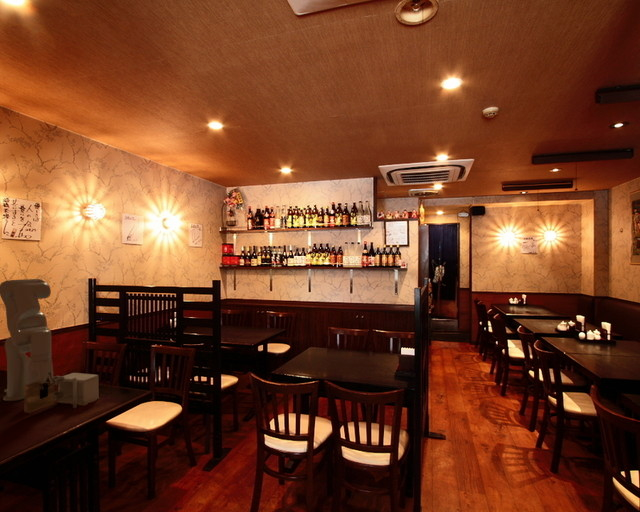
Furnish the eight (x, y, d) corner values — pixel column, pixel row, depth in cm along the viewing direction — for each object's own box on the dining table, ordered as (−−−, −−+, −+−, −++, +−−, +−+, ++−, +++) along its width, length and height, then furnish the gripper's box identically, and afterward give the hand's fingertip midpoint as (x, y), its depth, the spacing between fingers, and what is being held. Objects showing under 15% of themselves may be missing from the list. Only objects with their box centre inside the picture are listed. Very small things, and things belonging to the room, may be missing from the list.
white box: (50, 405, 168) (50, 376, 168) (73, 396, 179) (73, 368, 180) (76, 408, 164) (76, 378, 164) (98, 399, 175) (98, 371, 175)
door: (23, 412, 155) (23, 385, 155) (57, 398, 170) (57, 373, 170) (30, 413, 154) (30, 386, 154) (64, 399, 169) (64, 374, 169)
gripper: (18, 357, 159) (18, 398, 159) (46, 361, 155) (46, 402, 155) (36, 353, 166) (35, 392, 166) (62, 356, 162) (62, 395, 162)
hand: (40, 396), depth 161 cm, fingers closed on door, 3 cm apart
